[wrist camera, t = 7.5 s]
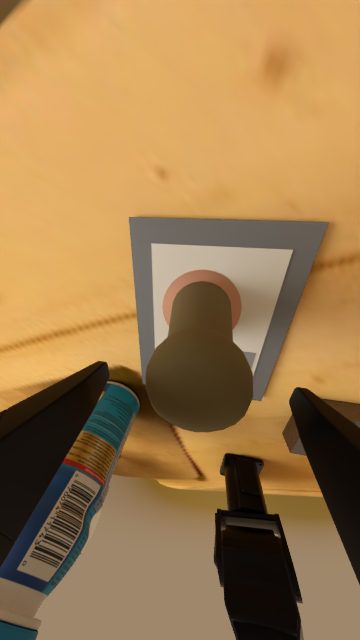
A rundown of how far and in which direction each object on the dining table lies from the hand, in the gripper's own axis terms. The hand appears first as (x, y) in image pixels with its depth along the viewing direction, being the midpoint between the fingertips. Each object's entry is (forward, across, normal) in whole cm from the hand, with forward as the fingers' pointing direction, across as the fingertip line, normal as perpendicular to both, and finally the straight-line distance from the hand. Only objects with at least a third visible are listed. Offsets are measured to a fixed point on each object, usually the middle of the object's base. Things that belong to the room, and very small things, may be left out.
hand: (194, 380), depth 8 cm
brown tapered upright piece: (+10, 0, 0) cm, 10 cm away
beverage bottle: (+11, +12, +17) cm, 24 cm away
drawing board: (+11, -1, +2) cm, 11 cm away
